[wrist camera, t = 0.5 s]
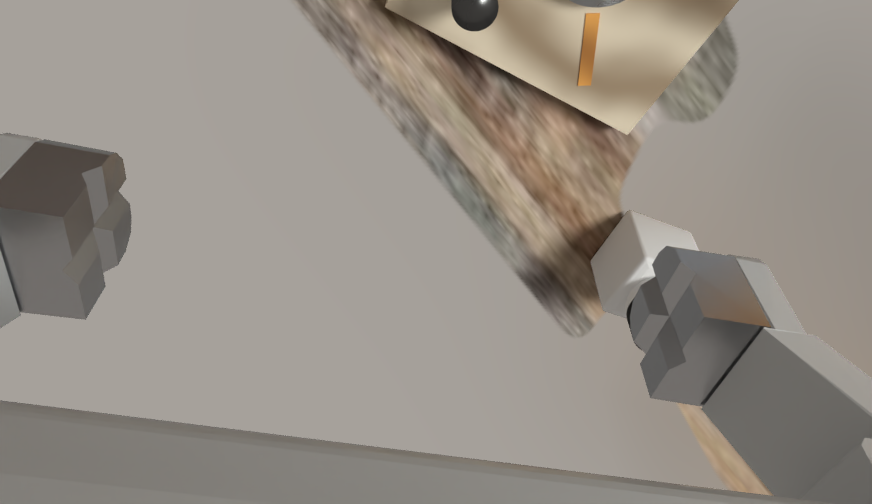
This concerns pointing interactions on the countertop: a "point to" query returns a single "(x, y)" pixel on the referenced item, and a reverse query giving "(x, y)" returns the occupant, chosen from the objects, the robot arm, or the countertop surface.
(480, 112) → the countertop surface
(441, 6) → the birch stand
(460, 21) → the silver disc with handle
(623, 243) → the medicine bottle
